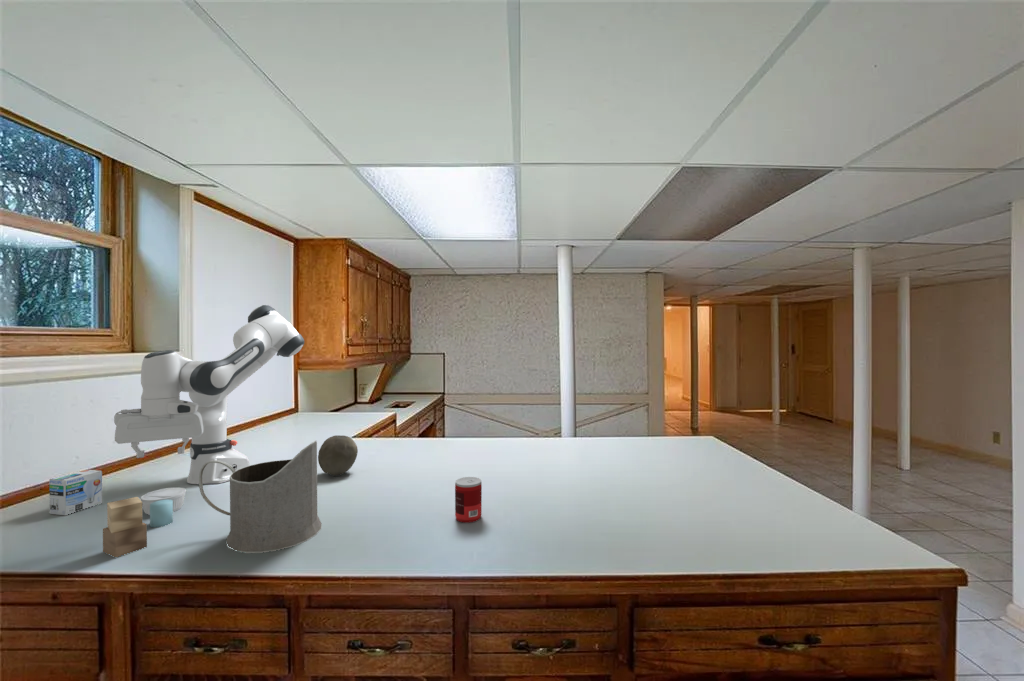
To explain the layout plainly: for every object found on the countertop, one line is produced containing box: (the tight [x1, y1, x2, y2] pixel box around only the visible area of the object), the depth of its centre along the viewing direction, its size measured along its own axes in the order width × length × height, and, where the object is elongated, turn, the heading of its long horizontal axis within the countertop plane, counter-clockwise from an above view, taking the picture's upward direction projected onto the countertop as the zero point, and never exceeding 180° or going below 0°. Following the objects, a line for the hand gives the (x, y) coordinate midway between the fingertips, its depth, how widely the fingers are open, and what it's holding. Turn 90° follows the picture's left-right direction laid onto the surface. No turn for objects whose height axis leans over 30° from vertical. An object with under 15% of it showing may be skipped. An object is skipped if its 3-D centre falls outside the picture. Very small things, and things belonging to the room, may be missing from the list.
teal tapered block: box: [149, 500, 174, 528], centre depth 132 cm, size 5×5×6 cm
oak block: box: [106, 496, 144, 533], centre depth 116 cm, size 6×6×6 cm
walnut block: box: [102, 522, 148, 558], centre depth 116 cm, size 6×6×6 cm
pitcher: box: [198, 440, 323, 554], centre depth 126 cm, size 23×32×25 cm
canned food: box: [454, 476, 483, 524], centre depth 136 cm, size 8×8×11 cm
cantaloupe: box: [317, 435, 359, 477], centre depth 179 cm, size 14×14×15 cm
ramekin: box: [140, 487, 187, 516], centre depth 143 cm, size 11×11×5 cm
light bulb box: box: [48, 469, 103, 516], centre depth 144 cm, size 11×7×11 cm, turn 168°
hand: (161, 455), depth 132 cm, fingers open, 8 cm apart
